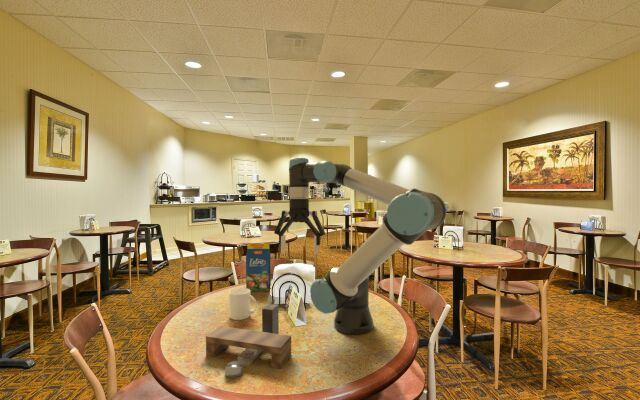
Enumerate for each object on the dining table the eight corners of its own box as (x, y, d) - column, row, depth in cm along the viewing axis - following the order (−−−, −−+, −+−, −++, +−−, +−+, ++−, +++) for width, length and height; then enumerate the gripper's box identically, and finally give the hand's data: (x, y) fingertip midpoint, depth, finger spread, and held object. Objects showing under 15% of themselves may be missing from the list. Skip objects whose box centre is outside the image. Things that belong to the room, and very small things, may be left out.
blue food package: (268, 291, 162) (268, 244, 162) (246, 291, 163) (245, 244, 162) (270, 288, 169) (270, 242, 168) (249, 288, 169) (248, 242, 169)
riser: (291, 355, 98) (291, 335, 98) (280, 368, 90) (280, 347, 90) (221, 343, 105) (221, 326, 105) (206, 355, 98) (205, 336, 98)
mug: (251, 322, 123) (251, 296, 123) (225, 319, 126) (225, 293, 126) (261, 314, 131) (261, 289, 131) (236, 311, 134) (236, 287, 134)
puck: (246, 371, 89) (246, 362, 89) (236, 380, 85) (236, 372, 85) (232, 367, 91) (232, 359, 91) (221, 377, 86) (221, 368, 86)
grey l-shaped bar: (268, 333, 113) (268, 303, 113) (278, 334, 112) (278, 304, 112) (237, 363, 93) (237, 327, 93) (249, 365, 92) (248, 328, 92)
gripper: (332, 198, 118) (333, 252, 119) (273, 198, 126) (274, 249, 126) (327, 198, 111) (327, 256, 112) (265, 198, 118) (265, 253, 119)
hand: (299, 253), depth 119 cm, fingers open, 13 cm apart
